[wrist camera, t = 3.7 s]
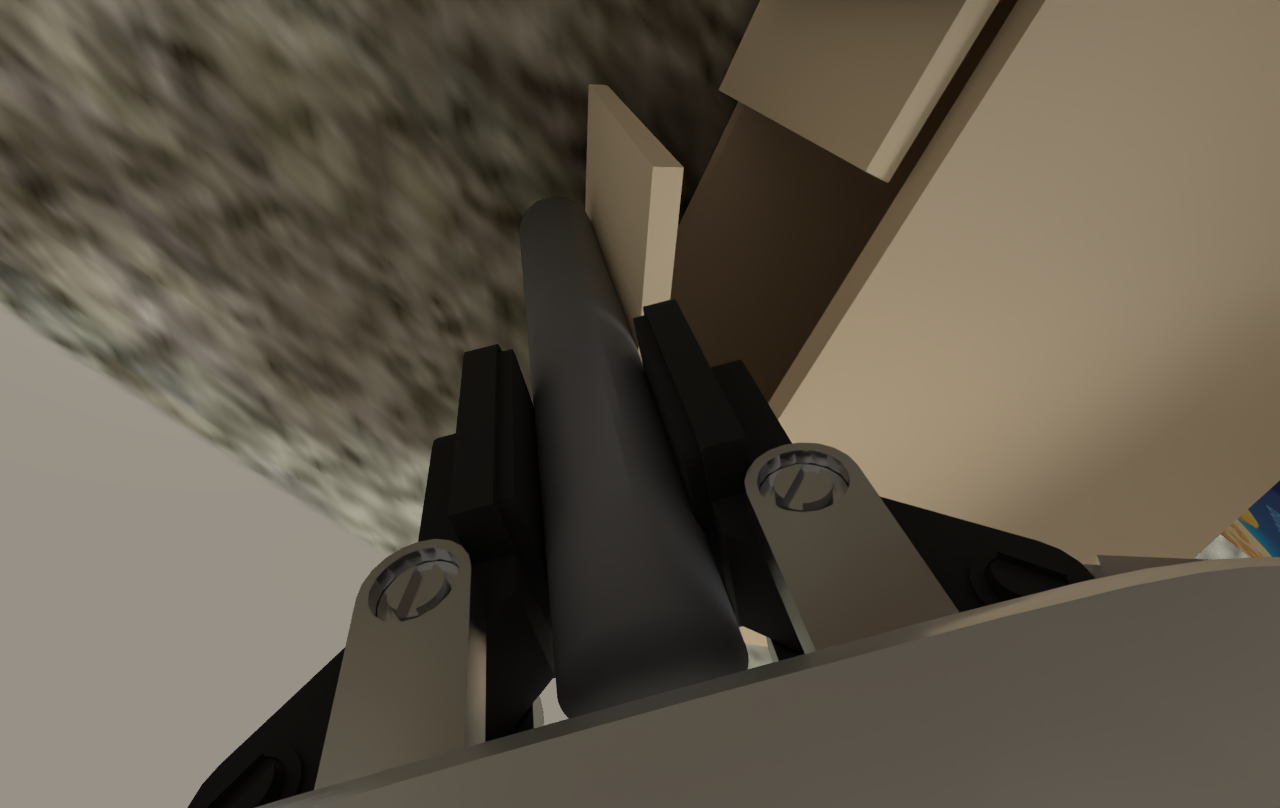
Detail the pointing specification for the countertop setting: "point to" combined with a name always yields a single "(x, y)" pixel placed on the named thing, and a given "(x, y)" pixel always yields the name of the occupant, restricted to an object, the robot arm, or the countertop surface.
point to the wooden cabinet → (1027, 279)
